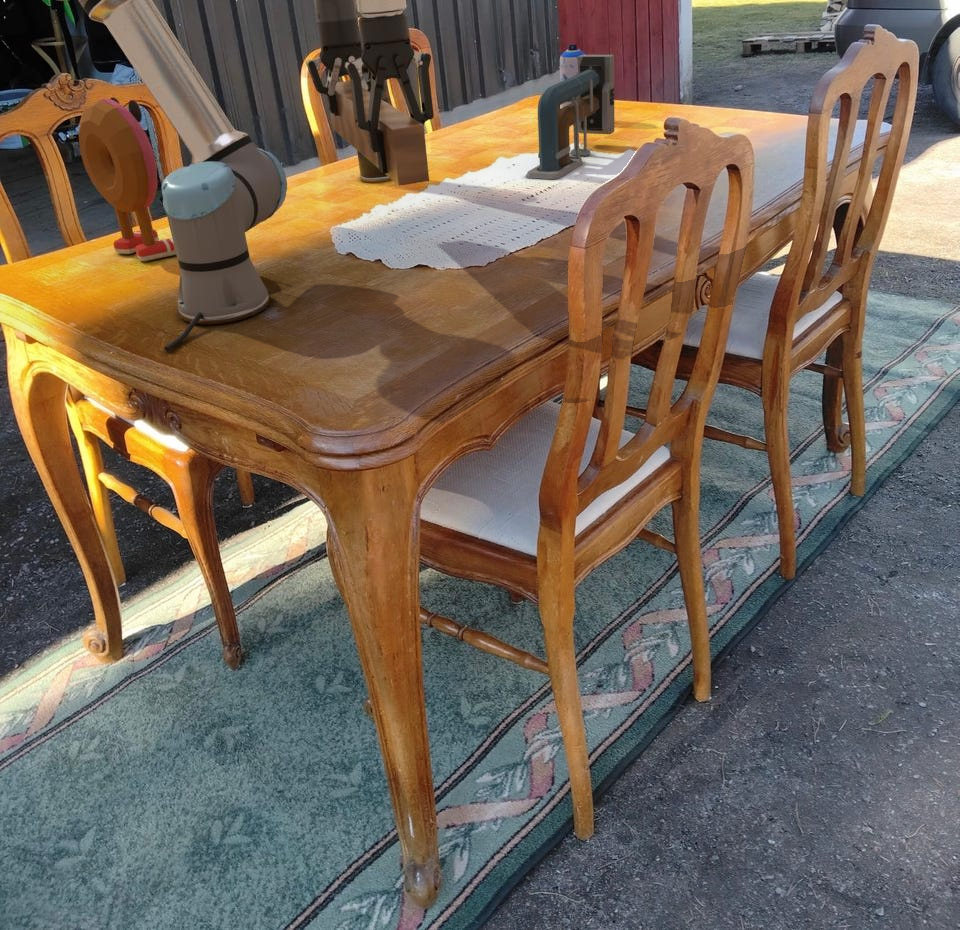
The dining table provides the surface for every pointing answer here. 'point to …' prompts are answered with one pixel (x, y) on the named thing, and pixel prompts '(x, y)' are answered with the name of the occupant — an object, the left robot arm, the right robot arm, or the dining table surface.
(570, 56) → the aerosol can
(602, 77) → the clamp
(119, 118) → the toy
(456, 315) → the dining table surface
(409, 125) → the beam
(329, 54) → the right robot arm
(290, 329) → the dining table surface
